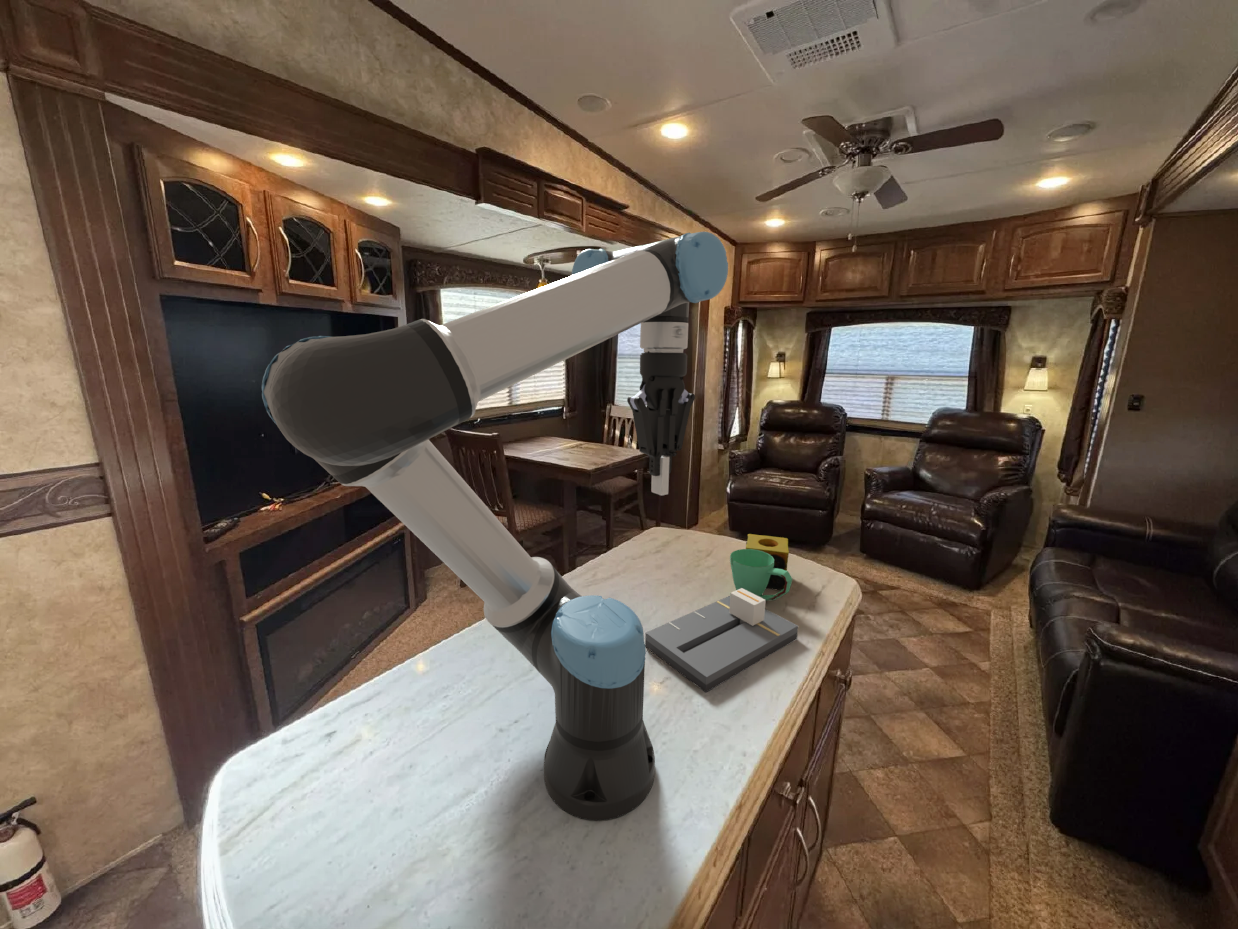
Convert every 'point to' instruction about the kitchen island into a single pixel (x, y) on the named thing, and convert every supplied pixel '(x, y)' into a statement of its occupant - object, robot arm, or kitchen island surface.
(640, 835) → the kitchen island surface
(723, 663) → the console
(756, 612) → the fader tab
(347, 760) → the kitchen island surface
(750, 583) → the mug
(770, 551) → the yellow cube with holes
